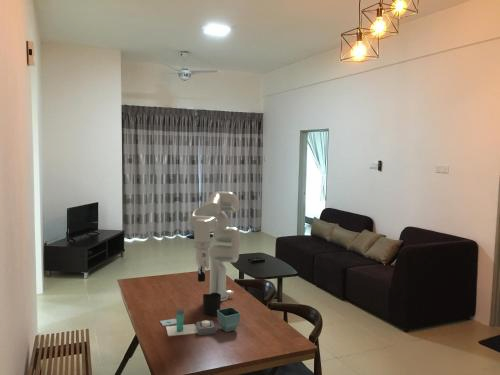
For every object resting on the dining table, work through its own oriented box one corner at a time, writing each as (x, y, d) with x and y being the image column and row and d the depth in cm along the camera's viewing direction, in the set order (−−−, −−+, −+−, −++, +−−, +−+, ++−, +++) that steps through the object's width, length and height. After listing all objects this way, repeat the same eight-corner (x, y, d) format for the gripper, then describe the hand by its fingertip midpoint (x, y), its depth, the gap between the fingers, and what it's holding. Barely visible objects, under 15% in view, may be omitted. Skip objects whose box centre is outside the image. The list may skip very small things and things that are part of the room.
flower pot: (224, 334, 193) (225, 316, 192) (216, 327, 201) (216, 310, 200) (240, 331, 198) (241, 313, 197) (231, 324, 205) (232, 306, 205)
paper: (194, 324, 203) (194, 323, 203) (198, 333, 194) (198, 332, 194) (166, 327, 199) (166, 326, 199) (168, 336, 190) (168, 335, 190)
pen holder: (217, 317, 213) (218, 299, 212) (200, 315, 214) (200, 297, 214) (222, 311, 222) (222, 293, 221) (205, 309, 224) (206, 291, 223)
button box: (212, 326, 202) (212, 320, 202) (215, 333, 194) (215, 327, 194) (195, 327, 200) (196, 321, 199) (198, 335, 192) (198, 328, 192)
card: (175, 319, 209) (175, 318, 209) (178, 323, 204) (178, 322, 204) (159, 321, 206) (159, 320, 206) (162, 326, 200) (162, 325, 200)
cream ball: (208, 327, 199) (209, 320, 199) (210, 330, 196) (210, 323, 195) (200, 327, 198) (200, 320, 198) (202, 331, 194) (202, 324, 194)
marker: (183, 328, 197) (183, 308, 197) (183, 331, 194) (183, 310, 194) (176, 329, 197) (176, 308, 196) (176, 332, 193) (176, 310, 193)
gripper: (213, 247, 192) (212, 285, 194) (206, 240, 207) (205, 275, 209) (197, 248, 190) (196, 286, 192) (191, 241, 204) (191, 276, 206)
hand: (201, 281), depth 200 cm, fingers closed
